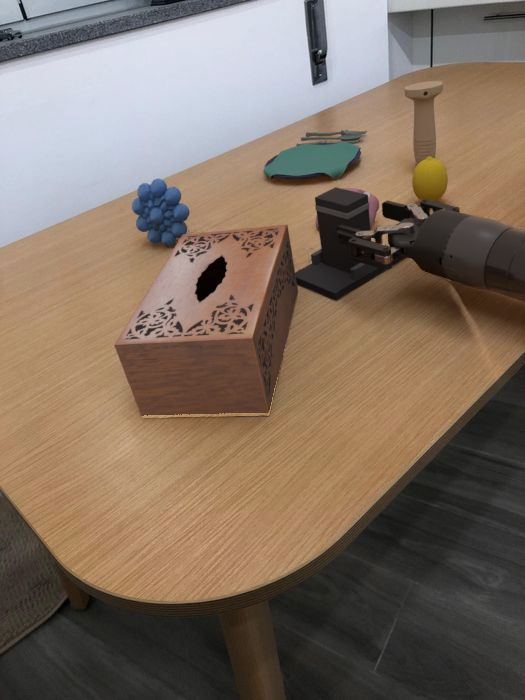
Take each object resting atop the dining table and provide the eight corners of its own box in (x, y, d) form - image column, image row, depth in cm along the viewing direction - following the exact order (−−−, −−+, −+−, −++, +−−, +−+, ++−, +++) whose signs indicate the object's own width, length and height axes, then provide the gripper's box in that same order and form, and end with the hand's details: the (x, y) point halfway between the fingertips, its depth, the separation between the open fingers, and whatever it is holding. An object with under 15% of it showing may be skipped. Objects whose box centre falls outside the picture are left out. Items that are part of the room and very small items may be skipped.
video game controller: (378, 235, 97) (384, 190, 95) (367, 234, 93) (372, 188, 91) (325, 230, 102) (329, 187, 100) (311, 229, 98) (316, 184, 97)
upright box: (342, 252, 88) (335, 186, 82) (373, 262, 84) (368, 194, 78) (322, 263, 86) (313, 197, 81) (353, 274, 82) (346, 205, 76)
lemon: (415, 198, 102) (414, 152, 98) (449, 197, 100) (449, 149, 96) (410, 212, 98) (409, 164, 94) (446, 211, 96) (446, 161, 92)
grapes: (210, 236, 104) (194, 169, 97) (189, 254, 99) (171, 185, 93) (157, 233, 109) (138, 169, 103) (135, 250, 105) (114, 184, 98)
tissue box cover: (199, 297, 87) (182, 234, 81) (298, 291, 83) (287, 224, 78) (142, 418, 66) (114, 345, 61) (269, 416, 63) (252, 338, 57)
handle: (406, 168, 115) (402, 85, 106) (440, 163, 114) (440, 79, 105) (409, 177, 111) (406, 91, 102) (445, 172, 110) (445, 85, 101)
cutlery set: (251, 187, 121) (248, 176, 119) (300, 138, 142) (298, 129, 141) (346, 185, 113) (345, 173, 111) (383, 134, 134) (382, 123, 133)
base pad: (359, 243, 92) (358, 227, 90) (405, 258, 86) (405, 241, 84) (291, 282, 86) (288, 265, 84) (336, 300, 79) (333, 283, 78)
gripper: (506, 195, 68) (396, 174, 80) (425, 244, 62) (318, 213, 73) (503, 254, 73) (398, 226, 84) (426, 306, 66) (325, 267, 78)
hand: (361, 220), depth 79 cm, fingers open, 8 cm apart
